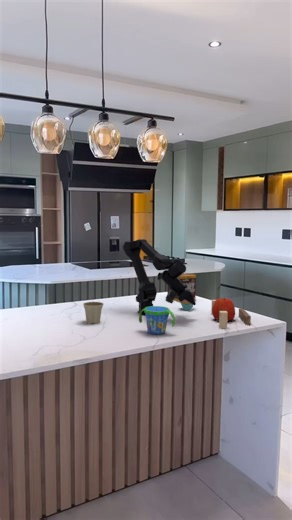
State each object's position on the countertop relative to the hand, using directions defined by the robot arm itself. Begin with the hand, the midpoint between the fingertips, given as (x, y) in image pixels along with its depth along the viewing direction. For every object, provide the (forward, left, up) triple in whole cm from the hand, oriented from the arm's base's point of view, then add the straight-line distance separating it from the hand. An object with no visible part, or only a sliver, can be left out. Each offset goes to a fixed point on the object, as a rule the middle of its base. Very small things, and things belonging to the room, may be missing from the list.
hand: (195, 304), depth 183 cm
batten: (+21, -10, -7) cm, 24 cm away
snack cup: (-26, -12, -8) cm, 29 cm away
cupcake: (+7, +21, -7) cm, 23 cm away
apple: (+12, -5, -7) cm, 15 cm away
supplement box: (+17, +46, -8) cm, 50 cm away
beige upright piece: (+10, -5, -7) cm, 13 cm away
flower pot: (-46, +14, -8) cm, 48 cm away
